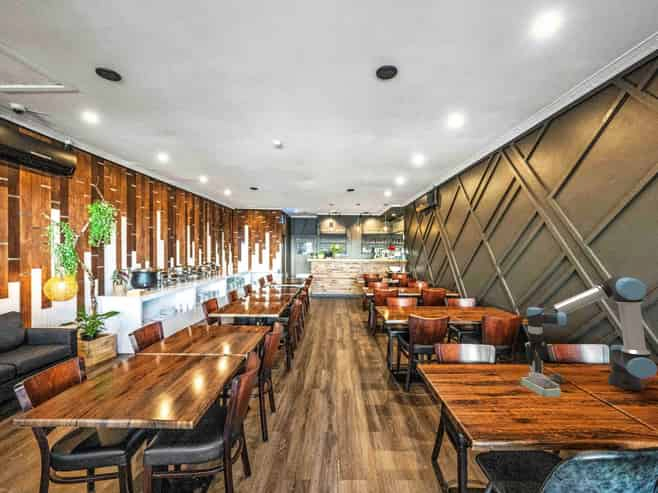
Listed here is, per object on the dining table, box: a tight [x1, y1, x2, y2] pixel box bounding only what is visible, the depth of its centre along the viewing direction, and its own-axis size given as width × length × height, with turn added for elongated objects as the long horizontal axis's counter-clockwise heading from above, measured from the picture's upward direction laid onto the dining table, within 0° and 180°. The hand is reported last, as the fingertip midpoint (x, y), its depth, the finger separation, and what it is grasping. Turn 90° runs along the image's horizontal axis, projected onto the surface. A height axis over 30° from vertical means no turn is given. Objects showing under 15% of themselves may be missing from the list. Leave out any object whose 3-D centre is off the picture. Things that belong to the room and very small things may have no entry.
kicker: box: [528, 354, 560, 389], centre depth 176 cm, size 6×20×15 cm, turn 7°
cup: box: [527, 371, 551, 389], centre depth 171 cm, size 11×8×8 cm
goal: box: [519, 376, 562, 399], centre depth 170 cm, size 10×17×4 cm, turn 7°
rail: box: [522, 372, 564, 383], centre depth 183 cm, size 22×5×3 cm, turn 97°
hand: (536, 370), depth 183 cm, fingers open, 5 cm apart
